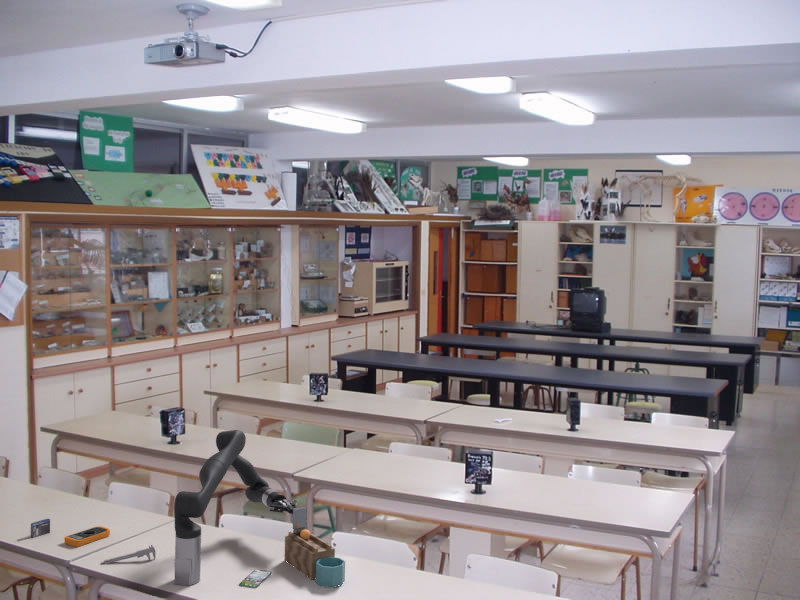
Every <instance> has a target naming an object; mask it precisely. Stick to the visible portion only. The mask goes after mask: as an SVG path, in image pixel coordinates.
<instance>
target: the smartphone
mask: <svg viewBox="0 0 800 600" xmlns="http://www.w3.org/2000/svg"><path fill="white" fill-rule="evenodd" d="M272 573H273V572H272V571H270V570H265V569H259V568H258V569H254V570H253V571H252V572H250V573H249V574H248V575H247V576H246V577H245V578H244V579H243V580H242V581H241V582H239V584H238V586H239V587H242V586H243V588H250V589H257V588H259V587H260V586H261V585H262V584H263V583H264V582H265V581H266V580H267V579H268V578H270V575H271V574H272ZM271 576H272V575H271ZM263 581H264V582H263ZM261 583H262V584H261ZM260 584H261V585H260Z"/></svg>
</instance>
